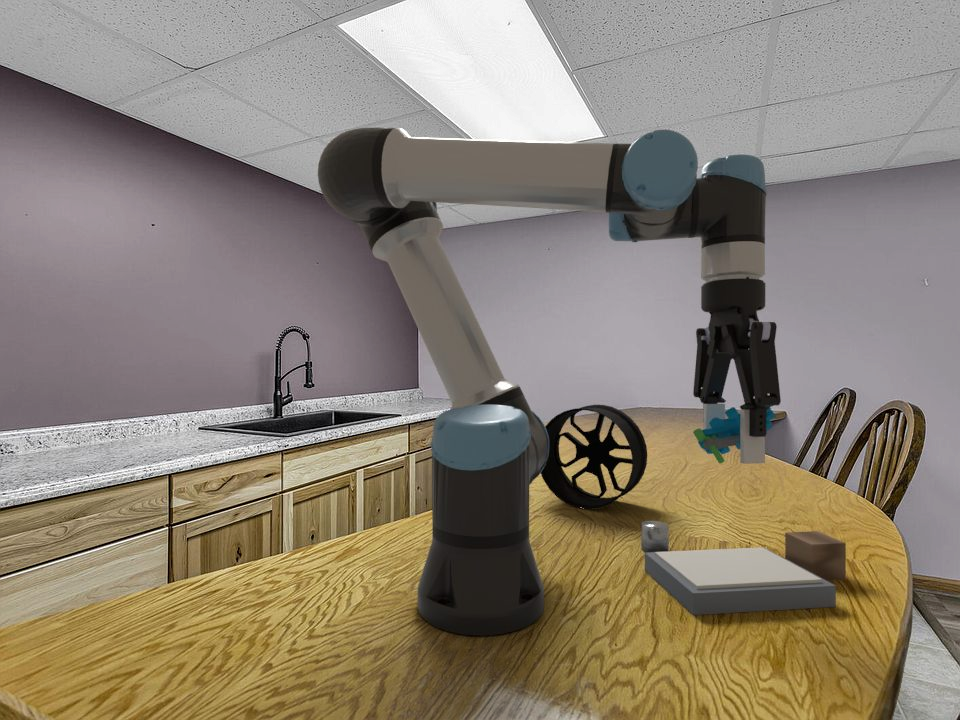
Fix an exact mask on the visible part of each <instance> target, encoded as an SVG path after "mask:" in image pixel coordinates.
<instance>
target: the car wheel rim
mask: <svg viewBox="0 0 960 720" xmlns="http://www.w3.org/2000/svg"><path fill="white" fill-rule="evenodd" d="M582 411H589V412H592V413H593V412H594V413H597V414H598V418H597V420H596V424H595V428H594V429H591V430H588V431H584V430H583V429H582V428H581V427H580V426H578V425H577V424H576V422H575V416H576V414H578V413H580V412H582ZM605 418H608V419H609V420H610V421H611V423H610V426H609V428H608V431H607V434H606V437H604V439H603V441H602V440H601V435H600V434H601V431H602V427H603V423H604V421H605ZM568 420H570V421H569V422H570V423H569V424H570V425H571V427H573V428H574V429H575V430H576V431H577V432H579V433H580V434H581V435H582V436H583V437H584V438H585V440H586V441H587V442H588V445H587V444H584V443H582V442H581V441H580V440H579V439H578V438H577V437H575V436H574V435H573V434H572V433H570V432H569V431H565V432H562V430H563V427H564V426H565V424H566V422H567V421H568ZM615 425H616V426H617V427H618V428H619V430H620V431H621V432H622V433H623V435H624V437H625V439H626V441H627V443H628V445H626V444H619V443H618V442H617V441H616V440H615V438H614V436H613V430H614V427H615ZM545 428H546V430H547V433H548V437H549V455H548V458H547V462H546V465H545V467H544V469H543V470H542V472H541V473H540V475H541V478H542V479H543V481H544V483H545V485H546V487H547V488H548V489H549V490H550V491H551V493H552V494H553V495H554V496H555V497H556V498H557V499H559V500H560V501H562V502H563V503H565V504H566V505H569V506H571V507H574V508H576V509H581V508H580V507H582V508H584V509H583V510H591V511H592V510H598V509H603V508H604V507H607V506H609V505H612V504H613V503H614V502H616V501H617V500H619V499H620V498H621V497H623V496H624V495H627V494H628V493H629V492H631V491H633V489H634V488H635V487H636V486H637V485H638V484H639V483H640V482H641V480H642V478H643V476H644V474H645V471H646V469H647V464H648V448H647V444H646V440H645V436H644V434H643V433H642V431H641V429H640V427H639V426H638V425H637V423H635V421H634V420H633V419H632V418H631V417H630V415H627V413H625V412H623V411H622V410H620V409H618V408H616V407H613V406H610V405H605V404H589V405H585V406H582V407H579V408H572V409H567V410H565V411H562V412H560V413H559V414H556V415H555V416H554V417H553V418H551V419H550V420H549V421H548V423H547V424H546V425H545ZM561 432H562V433H561ZM562 437H564V438H566V439H567V440H568V441H569V442H571V443H572V444H573V445H574V447H575V457H574V458H573V459H571V460H569V461H567V463H564V462H562V460H561V455H560V441H561V438H562ZM614 450H624V451H625V450H627V451H628V450H630V455H631V458H628V457H620V456H619V457H618V456H614V455H612V454H610V452H612V451H614ZM586 458H587V459H588V461H587V464H586V465H585V466H584V467H583V468H582V469H580V470H579V471H577V472H576V473H574V474H573V475H572V476H571V479H570V478H569V476H568V475H567V474H566V473H565V471H564V469H563V468H565V469H566V468H568V467H570V466H572V465H574V464H575V463H576V462H578V461H580V460H582V459H586ZM620 463H621V464H629V465H631V472H630V476H629V479H628V481H627V484H626V485H625V487H624V488H623V487H620V486H619V483H618V482H617V479H616V476H615V473H614V471H615V469H616V467H617V466H618V465H619V464H620ZM602 465H603V466H604V467H605V468H606V469H607V471H608V474H609V478H610V481H611V484H612V487H613V489H614V490H616V491H618V492H620V493H619V494H618V495H616V496H610V497H603V496H604V495H605V494H606V492H607V491H608V489H607V486H606V481H605V478H604V477H605V476H604V474H603V470H602ZM585 473H589V474H592V475H593V476H595V477H596V478H597V479H598V480H597V481H598V484H599V488H600V489H599V490H600V493H599V494H598V495H597V494H593V493H591V492H588V491H586V490H584V489H583V488H581V487H580V486H579V485H578V483H577V478H579V477H580V476H582V475H583V474H585ZM581 510H582V509H581Z"/></svg>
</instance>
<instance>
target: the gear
mask: <svg viewBox="0 0 960 720" xmlns="http://www.w3.org/2000/svg"><path fill="white" fill-rule="evenodd" d="M725 416H726V417H727V418H725V419H719V418H717V417H716V418H713V419H712V420H711V421H710V422H709V424H710V426H711V429H704V430H703V429H701V428H696V429H694V430H693V432H692V433H693V434H694V436H695V438H696V440H697V443H698V445H699V446H700V448H701V449H702V450H703V449H705V451H706V452H705V451H704V452H705V453H706V454H708V455H713V456H714V457H715V460H716V461H717V462H718V463H719V464H723V463H725V462H726V461H725V459H724V456H723V455H725V454H728V453H729V452H730V451H731V449H730V447H733V446H735V447H736V449H737V450H740V413H739V412H738V409H736V407H734V406H733V407H731V408H728V409H727V410H725ZM775 418H776V414H775V412H774V411H773V410H772V408H771V407H770V408H769V409H767V413H766V431H767V430H769V429H771V428H772V427H773V423H772V422H771V420H773V419H775ZM718 450H719V451H718Z"/></svg>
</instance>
